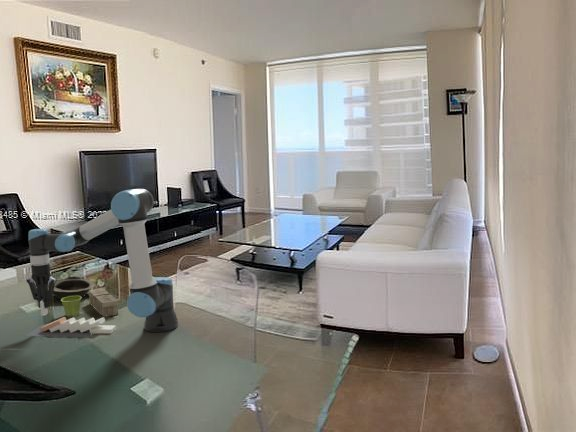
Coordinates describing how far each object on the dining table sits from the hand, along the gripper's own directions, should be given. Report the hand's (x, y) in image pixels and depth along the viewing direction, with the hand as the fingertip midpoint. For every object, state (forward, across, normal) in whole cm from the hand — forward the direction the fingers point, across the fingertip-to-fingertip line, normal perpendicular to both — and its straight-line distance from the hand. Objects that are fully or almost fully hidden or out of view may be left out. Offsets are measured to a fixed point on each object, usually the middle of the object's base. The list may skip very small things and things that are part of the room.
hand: (44, 314), depth 212 cm
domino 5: (+7, -17, 0) cm, 19 cm away
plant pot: (+8, -1, -22) cm, 23 cm away
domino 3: (+7, -8, 0) cm, 11 cm away
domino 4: (+7, -13, 0) cm, 14 cm away
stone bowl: (+8, +15, -53) cm, 56 cm away
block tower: (+8, -12, -32) cm, 35 cm away
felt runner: (+8, -10, 0) cm, 12 cm away
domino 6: (+7, -22, 0) cm, 23 cm away
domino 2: (+7, -4, 0) cm, 8 cm away
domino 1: (+7, +1, 0) cm, 7 cm away
